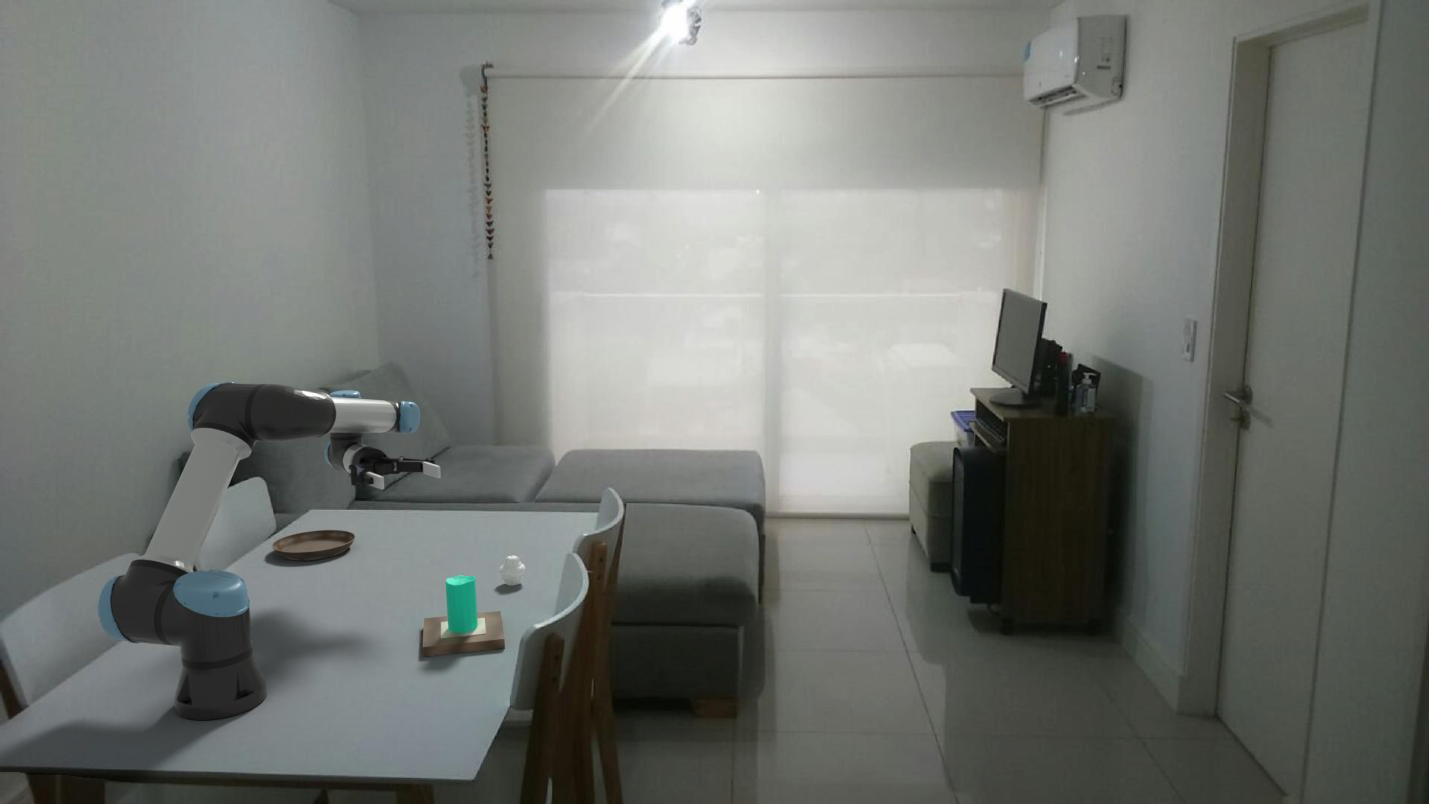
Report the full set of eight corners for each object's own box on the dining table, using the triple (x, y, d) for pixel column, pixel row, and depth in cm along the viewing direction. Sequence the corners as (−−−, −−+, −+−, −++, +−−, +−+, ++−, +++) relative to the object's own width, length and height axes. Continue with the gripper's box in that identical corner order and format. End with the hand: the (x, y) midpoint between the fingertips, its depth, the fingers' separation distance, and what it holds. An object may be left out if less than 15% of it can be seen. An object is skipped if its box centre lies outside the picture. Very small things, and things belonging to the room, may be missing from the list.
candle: (483, 626, 221) (481, 571, 219) (459, 635, 216) (456, 579, 214) (466, 619, 225) (463, 565, 223) (442, 628, 220) (439, 572, 218)
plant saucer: (270, 546, 285) (269, 534, 284) (350, 536, 293) (350, 524, 293) (275, 569, 266) (274, 556, 266) (361, 557, 275) (360, 544, 275)
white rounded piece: (529, 579, 256) (527, 551, 255) (522, 588, 250) (520, 559, 249) (504, 578, 257) (502, 551, 255) (496, 587, 251) (495, 559, 249)
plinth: (423, 656, 211) (422, 646, 211) (424, 627, 227) (424, 617, 226) (504, 648, 215) (504, 638, 215) (500, 619, 230) (500, 610, 230)
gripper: (416, 469, 257) (462, 484, 242) (315, 487, 240) (358, 505, 225) (414, 438, 256) (460, 451, 241) (313, 455, 239) (356, 470, 224)
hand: (411, 477), depth 233 cm, fingers open, 13 cm apart
